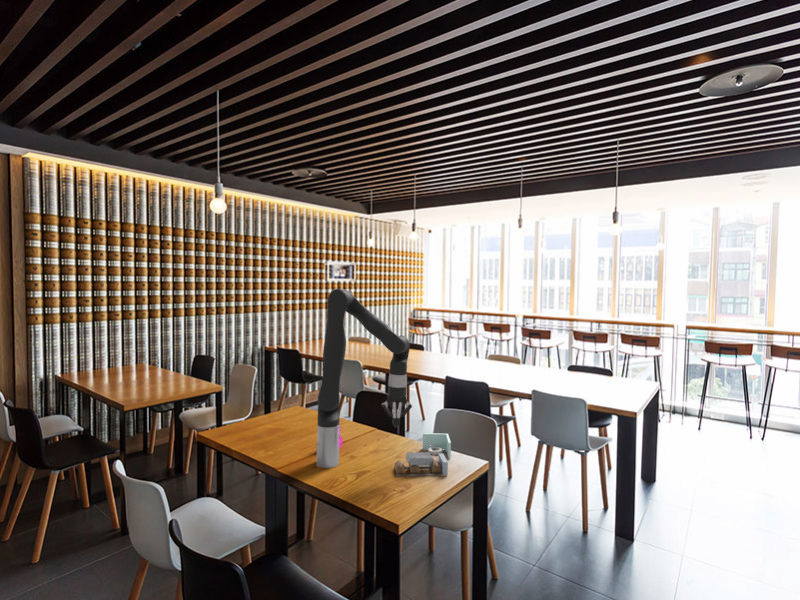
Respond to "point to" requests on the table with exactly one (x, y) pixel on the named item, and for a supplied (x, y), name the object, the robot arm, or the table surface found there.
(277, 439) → the table surface
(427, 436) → the l-shaped corner panel
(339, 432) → the magenta curved bracket
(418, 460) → the slab
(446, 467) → the stop gate
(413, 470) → the roller bed
